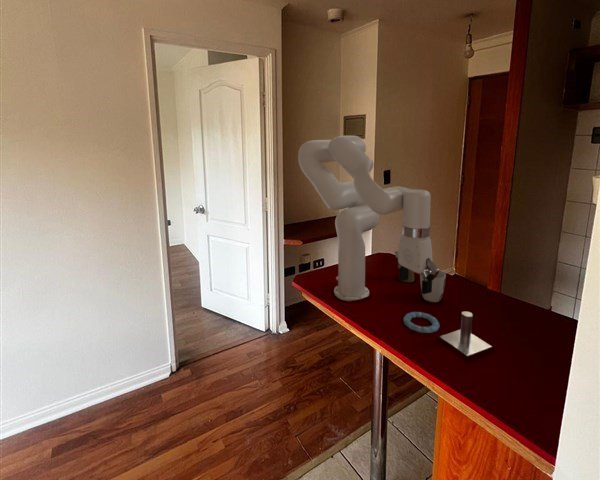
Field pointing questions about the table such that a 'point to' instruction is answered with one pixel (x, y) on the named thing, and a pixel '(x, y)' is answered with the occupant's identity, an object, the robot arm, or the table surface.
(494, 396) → the table surface
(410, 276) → the cork
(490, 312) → the table surface
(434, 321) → the ring
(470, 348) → the post
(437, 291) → the cup
